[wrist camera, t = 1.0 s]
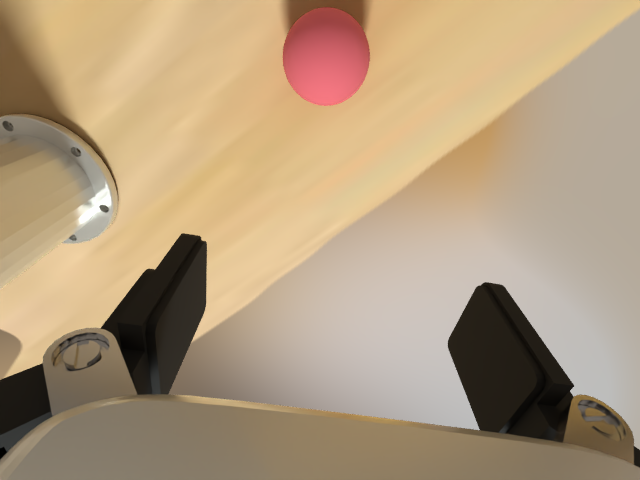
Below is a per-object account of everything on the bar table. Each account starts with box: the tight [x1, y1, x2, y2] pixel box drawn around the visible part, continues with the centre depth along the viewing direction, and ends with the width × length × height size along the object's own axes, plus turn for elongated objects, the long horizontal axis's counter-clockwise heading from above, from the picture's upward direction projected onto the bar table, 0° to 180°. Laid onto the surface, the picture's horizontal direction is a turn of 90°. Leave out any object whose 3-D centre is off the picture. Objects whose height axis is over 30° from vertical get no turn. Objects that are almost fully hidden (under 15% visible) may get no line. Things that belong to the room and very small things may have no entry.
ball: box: [283, 7, 370, 106], centre depth 24 cm, size 6×6×6 cm
